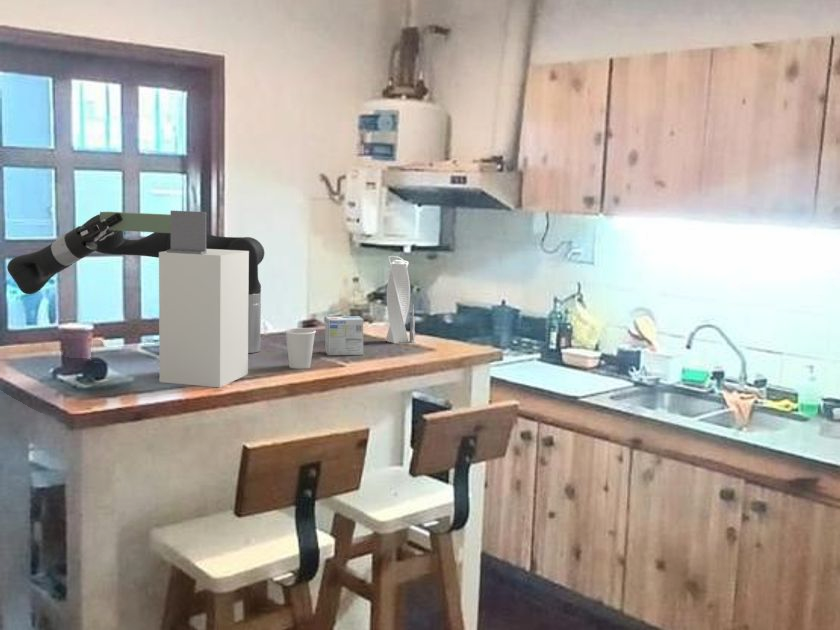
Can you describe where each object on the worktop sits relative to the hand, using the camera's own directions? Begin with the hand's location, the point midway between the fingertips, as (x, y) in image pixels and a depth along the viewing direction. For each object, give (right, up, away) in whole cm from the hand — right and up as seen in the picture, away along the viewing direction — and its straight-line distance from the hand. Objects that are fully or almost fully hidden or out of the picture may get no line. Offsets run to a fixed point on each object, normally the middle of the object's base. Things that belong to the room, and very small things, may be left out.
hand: (124, 216), depth 245 cm
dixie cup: (+43, -40, +14) cm, 60 cm away
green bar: (+6, -4, -1) cm, 7 cm away
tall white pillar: (+22, -42, -5) cm, 47 cm away
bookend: (+20, -11, -15) cm, 27 cm away
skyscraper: (+69, -35, +59) cm, 97 cm away
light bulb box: (+54, -37, +36) cm, 74 cm away
